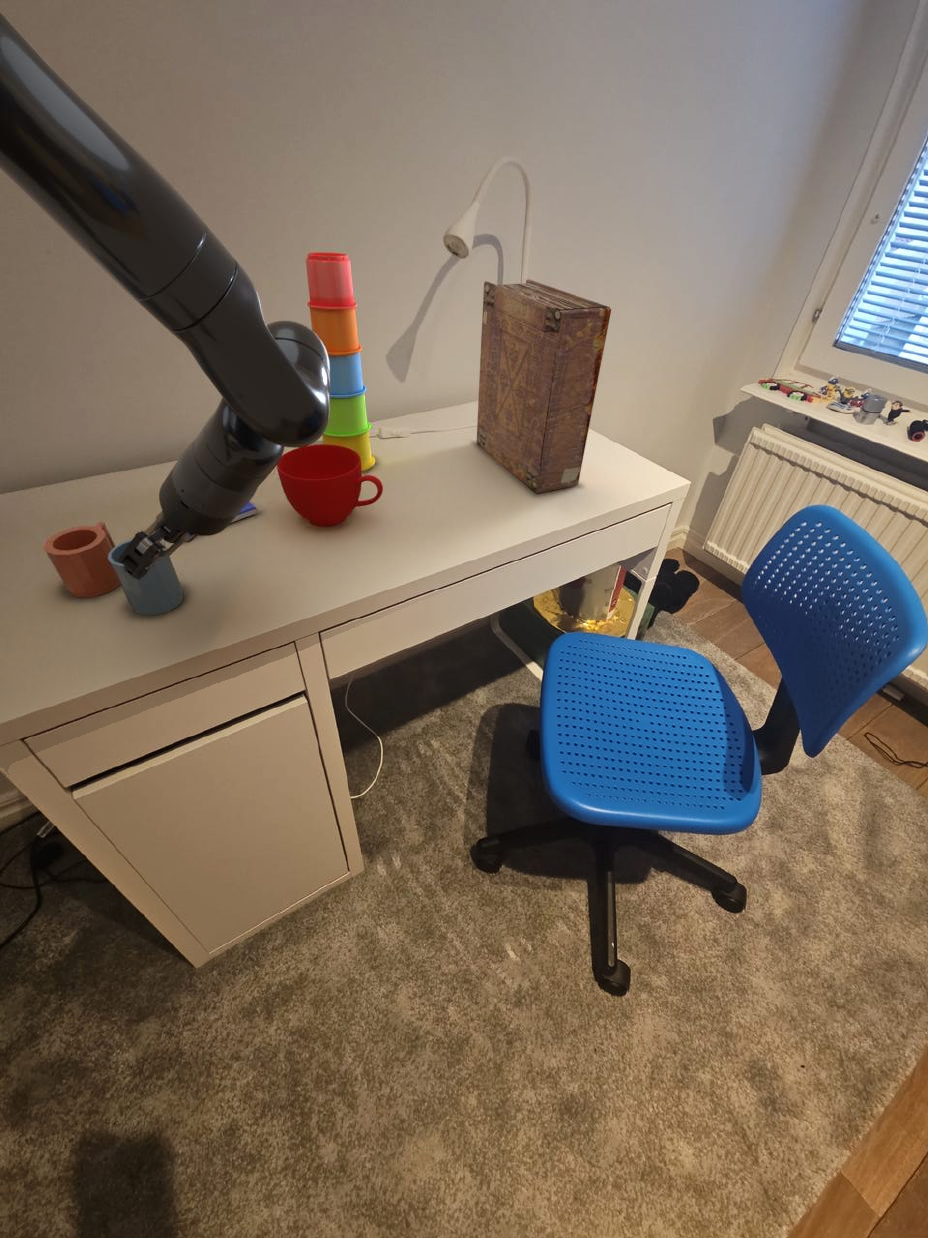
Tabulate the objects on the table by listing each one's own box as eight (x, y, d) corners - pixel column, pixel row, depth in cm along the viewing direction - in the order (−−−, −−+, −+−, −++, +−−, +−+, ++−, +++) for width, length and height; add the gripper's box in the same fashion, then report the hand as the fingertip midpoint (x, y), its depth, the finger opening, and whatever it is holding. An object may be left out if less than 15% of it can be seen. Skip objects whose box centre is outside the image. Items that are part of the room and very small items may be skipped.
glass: (173, 615, 71) (152, 566, 65) (123, 615, 70) (98, 565, 65) (190, 586, 76) (172, 537, 70) (144, 585, 75) (122, 536, 70)
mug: (110, 597, 73) (88, 554, 68) (57, 597, 73) (32, 554, 68) (142, 556, 81) (124, 514, 76) (94, 555, 80) (73, 514, 76)
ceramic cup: (368, 548, 84) (362, 490, 77) (272, 529, 87) (259, 471, 81) (399, 509, 93) (396, 454, 87) (312, 493, 97) (303, 439, 90)
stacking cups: (311, 464, 106) (277, 252, 83) (351, 449, 112) (330, 247, 89) (345, 481, 101) (319, 261, 78) (386, 464, 107) (372, 255, 84)
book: (475, 442, 116) (483, 280, 97) (513, 436, 119) (527, 278, 100) (537, 494, 99) (561, 310, 79) (578, 486, 102) (611, 306, 83)
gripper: (226, 431, 61) (175, 504, 71) (129, 486, 50) (85, 562, 60) (277, 483, 63) (220, 546, 73) (194, 546, 53) (141, 609, 63)
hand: (159, 553), depth 67 cm, fingers open, 8 cm apart
